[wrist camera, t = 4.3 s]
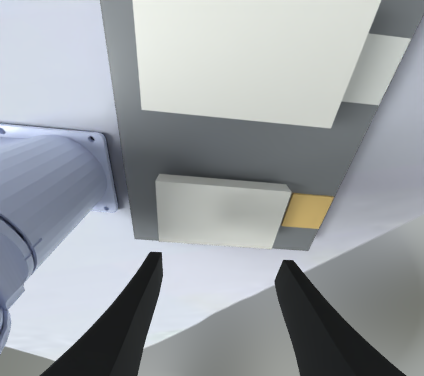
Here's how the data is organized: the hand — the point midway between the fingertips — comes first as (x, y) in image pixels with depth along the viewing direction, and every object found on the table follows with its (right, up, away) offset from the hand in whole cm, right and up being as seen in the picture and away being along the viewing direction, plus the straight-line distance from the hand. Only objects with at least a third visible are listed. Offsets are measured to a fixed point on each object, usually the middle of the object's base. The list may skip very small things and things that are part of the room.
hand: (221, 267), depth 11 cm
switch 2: (0, +3, +5) cm, 6 cm away
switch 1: (+1, +12, -2) cm, 12 cm away
